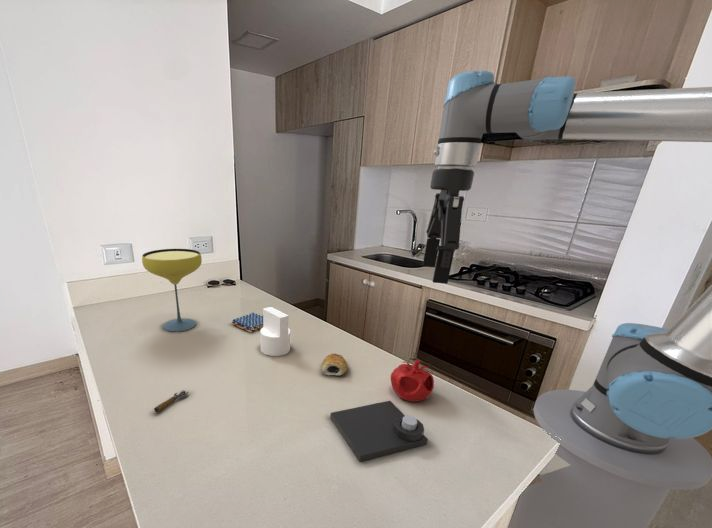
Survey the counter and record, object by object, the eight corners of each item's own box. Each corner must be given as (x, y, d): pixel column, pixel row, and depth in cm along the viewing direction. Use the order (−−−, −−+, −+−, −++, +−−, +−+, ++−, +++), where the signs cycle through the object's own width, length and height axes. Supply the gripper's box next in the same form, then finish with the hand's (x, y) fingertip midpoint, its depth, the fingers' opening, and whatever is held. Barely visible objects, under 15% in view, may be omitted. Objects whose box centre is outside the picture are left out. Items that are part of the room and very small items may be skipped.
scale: (390, 405, 79) (392, 394, 78) (428, 444, 68) (430, 431, 66) (330, 417, 74) (331, 406, 73) (359, 461, 63) (361, 449, 62)
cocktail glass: (156, 317, 125) (147, 248, 115) (207, 314, 128) (202, 248, 119) (147, 338, 108) (135, 260, 99) (205, 334, 112) (199, 259, 102)
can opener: (157, 413, 74) (156, 409, 74) (151, 409, 75) (150, 404, 75) (190, 394, 81) (190, 390, 81) (184, 390, 82) (184, 386, 82)
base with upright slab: (254, 347, 104) (254, 310, 100) (278, 339, 110) (278, 304, 105) (271, 358, 98) (271, 320, 93) (296, 350, 103) (297, 313, 99)
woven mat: (230, 324, 120) (229, 319, 119) (252, 316, 127) (252, 311, 126) (249, 333, 113) (249, 327, 113) (272, 324, 121) (272, 319, 120)
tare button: (410, 420, 70) (411, 414, 69) (418, 429, 68) (420, 423, 67) (398, 423, 69) (399, 417, 69) (407, 432, 67) (408, 426, 66)
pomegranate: (383, 382, 88) (388, 350, 84) (421, 382, 88) (427, 350, 85) (396, 406, 78) (402, 371, 75) (438, 406, 79) (446, 371, 76)
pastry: (324, 358, 99) (325, 346, 97) (347, 361, 98) (349, 349, 96) (320, 375, 90) (321, 362, 89) (345, 378, 89) (347, 366, 88)
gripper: (424, 169, 79) (409, 260, 87) (447, 166, 56) (424, 289, 64) (458, 170, 77) (440, 262, 85) (496, 167, 55) (467, 292, 63)
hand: (433, 274), depth 75 cm, fingers open, 13 cm apart
